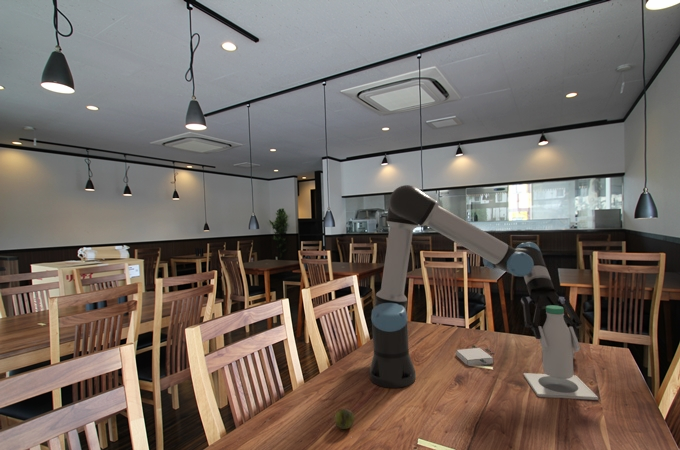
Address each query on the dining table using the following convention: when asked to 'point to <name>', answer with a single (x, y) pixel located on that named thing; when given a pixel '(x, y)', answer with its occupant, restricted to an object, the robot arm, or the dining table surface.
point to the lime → (344, 418)
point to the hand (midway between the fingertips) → (561, 349)
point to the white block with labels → (475, 356)
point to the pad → (559, 387)
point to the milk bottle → (557, 345)
